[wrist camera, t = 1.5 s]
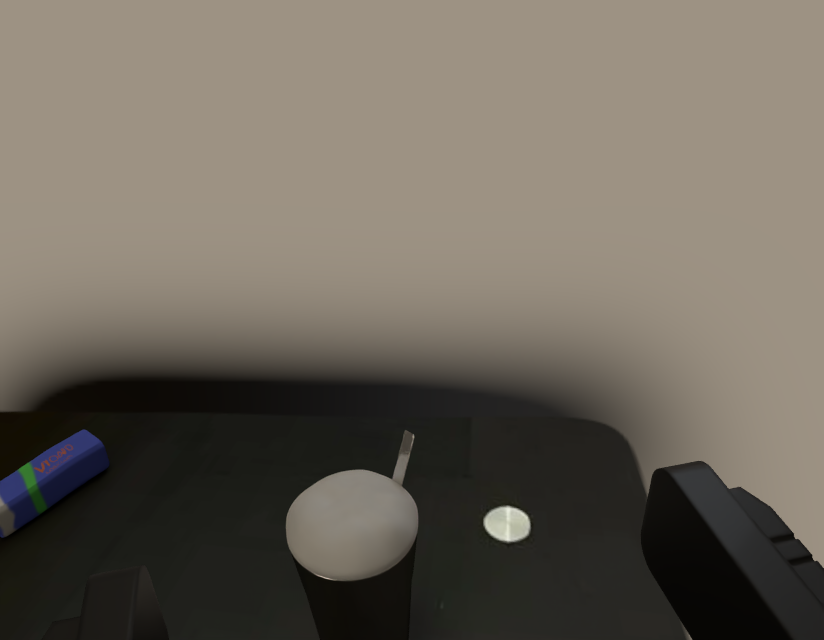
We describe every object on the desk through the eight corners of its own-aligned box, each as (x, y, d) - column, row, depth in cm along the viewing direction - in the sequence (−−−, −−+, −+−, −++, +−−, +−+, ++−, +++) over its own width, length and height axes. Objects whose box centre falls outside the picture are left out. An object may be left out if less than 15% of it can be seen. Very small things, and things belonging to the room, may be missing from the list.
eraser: (-16, 523, 37) (-31, 494, 36) (93, 454, 41) (82, 426, 39) (4, 542, 36) (-11, 514, 35) (113, 470, 40) (103, 441, 38)
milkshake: (460, 638, 31) (460, 462, 25) (368, 738, 27) (344, 561, 22) (381, 577, 33) (366, 405, 28) (288, 662, 30) (249, 486, 25)
